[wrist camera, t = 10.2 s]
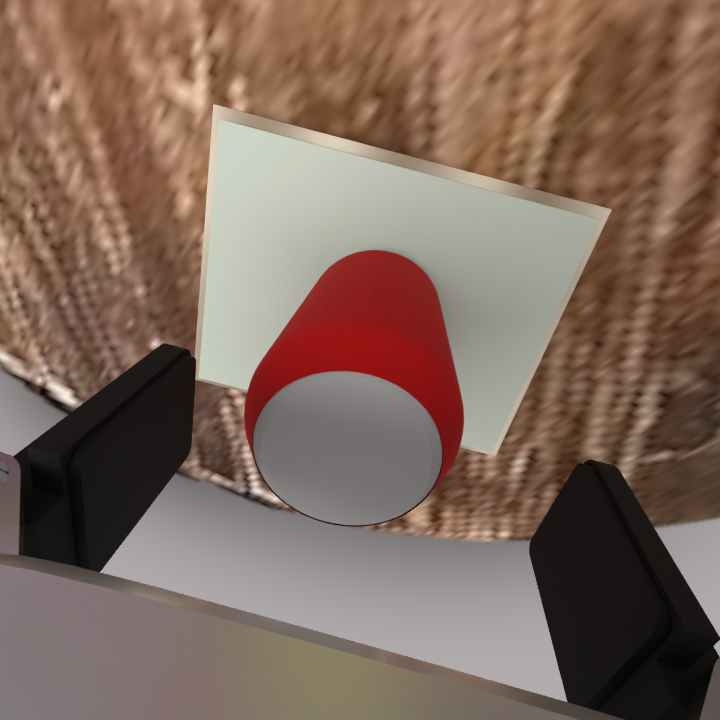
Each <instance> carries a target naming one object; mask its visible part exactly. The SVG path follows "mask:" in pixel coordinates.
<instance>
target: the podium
mask: <svg viewBox="0 0 720 720" xmlns="http://www.w3.org/2000/svg"><path fill="white" fill-rule="evenodd" d="M611 210H612V209H608V208H604V207H600V206H597V205H593V204H589V203H585V202H581V201H578V200H574V199H570V198H566V197H562V196H559V195H555V194H551V193H547V192H544V191H540V190H536V189H532V188H528V187H525V186H521V185H517V184H513V183H509V182H506V181H502V180H498V179H494V178H491V177H487V176H483V175H479V174H475V173H472V172H468V171H464V170H460V169H456V168H453V167H449V166H445V165H441V164H437V163H434V162H430V161H426V160H422V159H419V158H415V157H411V156H407V155H403V154H400V153H396V152H392V151H388V150H384V149H381V148H377V147H373V146H369V145H366V144H362V143H358V142H354V141H350V140H347V139H343V138H339V137H335V136H331V135H328V134H324V133H320V132H316V131H313V130H309V129H305V128H301V127H297V126H294V125H290V124H286V123H282V122H278V121H275V120H271V119H267V118H263V117H259V116H256V115H252V114H248V113H244V112H241V111H237V110H233V109H229V108H225V107H222V106H218V105H213V119H212V132H211V146H210V159H209V173H208V186H207V200H206V213H205V227H204V240H203V254H202V267H201V281H200V294H199V308H198V321H197V335H196V348H195V359H196V378H195V380H199V381H203V382H207V383H211V384H215V385H218V386H222V387H226V388H230V389H234V390H238V391H242V392H246V393H247V391H248V388H249V384H250V381H251V379H252V376H253V374H254V372H255V370H256V368H257V367H258V365H259V363H260V362H261V360H262V359H263V357H264V356H265V354H266V353H267V352H268V350H269V349H270V347H271V346H272V345H273V343H274V342H275V340H276V339H277V338H278V336H279V335H280V333H281V332H282V331H283V329H284V328H285V326H286V325H287V323H288V322H289V321H290V319H291V318H292V316H293V315H294V314H295V312H296V311H297V309H298V308H299V307H300V305H301V304H302V302H303V301H304V299H305V298H306V297H307V295H308V294H309V292H310V291H311V290H312V288H313V287H314V285H315V284H316V283H317V281H318V280H319V278H320V277H321V276H322V274H323V273H324V272H325V271H326V270H327V269H328V268H329V267H330V266H331V265H333V264H334V263H335V262H337V261H338V260H340V259H341V258H344V257H346V256H348V255H350V254H353V253H356V252H360V251H367V250H382V251H388V252H393V253H396V254H399V255H401V256H404V257H406V258H407V259H409V260H411V261H412V262H414V263H415V264H417V265H418V266H419V267H420V268H421V269H422V270H423V271H424V272H425V273H426V274H427V275H428V277H429V278H430V279H431V281H432V283H433V284H434V286H435V289H436V291H437V293H438V297H439V300H440V305H441V309H442V313H443V318H444V322H445V326H446V331H447V335H448V340H449V344H450V348H451V353H452V357H453V361H454V366H455V370H456V374H457V379H458V383H459V387H460V392H461V396H462V402H463V407H464V429H463V435H462V440H461V444H460V447H462V448H466V449H469V450H473V451H477V452H481V453H485V454H489V455H493V456H496V454H497V452H498V450H499V448H500V445H501V443H502V441H503V439H504V437H505V435H506V433H507V431H508V428H509V426H510V424H511V422H512V420H513V418H514V416H515V414H516V412H517V409H518V407H519V405H520V403H521V401H522V399H523V397H524V395H525V392H526V390H527V388H528V386H529V384H530V382H531V380H532V378H533V375H534V373H535V371H536V369H537V367H538V365H539V363H540V361H541V359H542V356H543V354H544V352H545V350H546V348H547V346H548V344H549V342H550V339H551V337H552V335H553V333H554V331H555V329H556V327H557V325H558V322H559V320H560V318H561V316H562V314H563V312H564V310H565V308H566V306H567V303H568V301H569V299H570V297H571V295H572V293H573V291H574V289H575V286H576V284H577V282H578V280H579V278H580V276H581V274H582V272H583V269H584V267H585V265H586V263H587V261H588V259H589V257H590V255H591V253H592V250H593V248H594V246H595V244H596V242H597V240H598V238H599V236H600V233H601V231H602V229H603V227H604V225H605V223H606V221H607V219H608V216H609V214H610V212H611Z"/></svg>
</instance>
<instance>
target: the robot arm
mask: <svg viewBox="0 0 720 720" xmlns="http://www.w3.org/2000/svg"><path fill="white" fill-rule="evenodd" d="M195 378H196V359H195V358H194V357H191V354H190V351H189V350H188V349H184V348H180V347H177V346H173V345H169V344H162V345H160V346H159V347H157V348H156V349H155V350H154V351H152V352H151V353H150V354H148V355H147V356H146V357H144V358H143V359H142V360H140V361H139V362H138V363H136V364H135V365H134V366H132V367H131V368H130V369H128V370H127V371H126V372H124V373H123V374H122V375H120V376H119V377H118V378H116V379H115V380H114V381H113V382H111V383H110V384H109V385H107V386H106V387H105V388H103V389H102V390H101V391H99V392H98V393H97V394H95V395H94V396H93V397H91V398H90V399H89V400H87V401H86V402H85V403H83V404H82V405H81V406H79V407H78V408H77V409H75V410H74V411H73V412H71V413H70V414H69V415H68V416H66V417H65V418H64V419H62V420H61V421H60V422H58V423H57V424H56V425H54V426H53V427H52V428H51V429H49V430H48V431H46V432H45V433H44V434H42V435H41V436H40V437H39V438H37V439H36V440H34V441H33V442H32V443H31V444H29V445H28V446H27V447H25V448H24V449H23V450H21V451H20V452H19V453H17V454H16V455H15V456H13V457H12V456H11V455H8V454H5V453H3V452H0V720H720V657H719V655H718V654H717V652H716V650H715V649H714V647H713V646H714V645H715V644H716V643H717V642H718V641H719V640H720V637H719V636H718V634H717V632H716V630H715V629H714V627H713V625H712V624H711V622H710V620H709V619H708V617H707V615H706V614H705V612H704V611H703V609H702V607H701V605H700V604H699V602H698V600H697V599H696V597H695V595H694V594H693V592H692V590H691V589H690V587H689V585H688V584H687V582H686V580H685V579H684V577H683V575H682V574H681V572H680V571H679V569H678V567H677V566H676V564H675V562H674V561H673V559H672V557H671V555H670V554H669V552H668V550H667V549H666V547H665V546H664V544H663V542H662V541H661V539H660V537H659V536H658V534H657V532H656V530H655V529H654V527H653V526H652V524H651V522H650V521H649V519H648V517H647V516H646V514H645V512H644V511H643V509H642V507H641V506H640V504H639V502H638V501H637V499H636V497H635V496H634V494H633V492H632V491H631V489H630V487H629V486H628V484H627V482H626V481H625V479H624V477H623V476H622V474H621V472H620V471H619V469H618V468H617V467H615V466H613V465H609V464H606V463H602V462H598V461H595V460H587V461H586V462H585V463H584V464H582V463H579V464H578V465H577V466H576V467H575V468H574V470H573V471H572V473H571V475H570V476H569V478H568V480H567V481H566V483H565V485H564V486H563V488H562V490H561V491H560V493H559V494H558V496H557V498H556V499H555V501H554V503H553V504H552V506H551V508H550V509H549V511H548V513H547V514H546V516H545V518H544V519H543V521H542V522H541V524H540V526H539V527H538V529H537V531H536V532H535V534H534V536H533V537H532V539H531V542H530V547H529V553H530V558H531V562H532V565H533V570H534V573H535V577H536V581H537V585H538V589H539V593H540V597H541V601H542V605H543V608H544V612H545V616H546V620H547V624H548V628H549V632H550V636H551V640H552V643H553V647H554V651H555V655H556V659H557V663H558V667H559V671H560V674H561V678H562V682H563V686H564V690H565V694H566V698H567V701H568V702H564V701H561V700H557V699H554V698H550V697H547V696H543V695H540V694H536V693H533V692H529V691H526V690H522V689H519V688H515V687H512V686H508V685H505V684H502V683H498V682H495V681H491V680H487V679H484V678H481V677H477V676H474V675H470V674H467V673H463V672H460V671H456V670H452V669H449V668H446V667H442V666H439V665H435V664H432V663H428V662H424V661H421V660H417V659H413V658H410V657H407V656H403V655H399V654H396V653H392V652H389V651H385V650H382V649H378V648H375V647H371V646H368V645H364V644H360V643H356V642H353V641H350V640H346V639H343V638H339V637H335V636H332V635H328V634H325V633H321V632H318V631H314V630H311V629H307V628H303V627H300V626H296V625H292V624H289V623H286V622H281V621H278V620H274V619H271V618H267V617H264V616H260V615H256V614H253V613H249V612H245V611H241V610H238V609H235V608H231V607H227V606H224V605H220V604H216V603H213V602H209V601H205V600H202V599H198V598H195V597H191V596H187V595H184V594H180V593H176V592H173V591H169V590H165V589H162V588H158V587H154V586H150V585H146V584H143V583H139V582H135V581H131V580H127V579H123V578H119V577H115V576H111V575H107V574H104V573H100V571H101V570H102V569H103V567H104V566H105V565H106V563H107V562H108V561H109V560H110V558H111V557H112V555H113V554H114V553H115V551H116V550H117V549H118V548H119V546H120V545H121V544H122V542H123V541H124V540H125V539H126V537H127V536H128V535H129V533H130V532H131V531H132V529H133V528H134V527H135V525H136V524H137V523H138V521H139V520H140V519H141V517H142V516H143V515H144V514H145V512H146V511H147V509H148V508H149V507H150V506H151V504H152V503H153V502H154V500H155V499H156V498H157V496H158V495H159V494H160V493H161V491H162V490H163V489H164V487H165V486H166V485H167V483H168V482H169V481H170V479H171V478H172V477H173V475H174V474H175V473H176V472H177V470H178V469H179V468H180V466H181V465H182V464H183V462H184V461H185V460H186V458H187V456H188V454H189V452H190V448H191V441H192V425H193V410H194V394H195Z"/></svg>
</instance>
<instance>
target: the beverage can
mask: <svg viewBox="0 0 720 720" xmlns="http://www.w3.org/2000/svg"><path fill="white" fill-rule="evenodd" d="M244 418H245V430H246V435H247V439H248V443H249V446H250V449H251V452H252V455H253V458H254V460H255V463H256V466H257V469H258V471H259V473H260V475H261V477H262V478H263V480H264V482H265V483H266V484H267V486H268V487H269V488H270V490H271V491H272V492H273V493H274V494H275V495H276V496H277V497H278V498H279V499H280V500H281V501H283V502H284V503H285V504H286V505H288V506H289V507H291V508H292V509H294V510H296V511H297V512H299V513H301V514H303V515H305V516H307V517H310V518H312V519H315V520H318V521H321V522H325V523H328V524H334V525H340V526H354V527H356V526H370V525H376V524H381V523H385V522H388V521H391V520H394V519H396V518H399V517H401V516H403V515H405V514H406V513H408V512H410V511H411V510H413V509H414V508H415V507H417V506H418V505H419V504H420V503H421V502H422V501H423V500H424V499H426V497H427V496H428V495H429V494H430V493H431V492H432V491H433V490H434V488H435V487H436V486H437V485H438V484H439V483H440V482H441V480H442V479H443V478H444V477H445V475H446V474H447V473H448V471H449V469H450V468H451V466H452V464H453V462H454V460H455V458H456V456H457V453H458V450H459V447H460V444H461V440H462V435H463V429H464V407H463V402H462V396H461V392H460V387H459V383H458V379H457V374H456V370H455V366H454V361H453V357H452V353H451V348H450V344H449V340H448V335H447V331H446V326H445V322H444V318H443V313H442V309H441V305H440V300H439V297H438V293H437V291H436V289H435V286H434V284H433V283H432V281H431V279H430V278H429V277H428V275H427V274H426V273H425V272H424V271H423V270H422V269H421V268H420V267H419V266H418V265H417V264H415V263H414V262H412V261H411V260H409V259H407V258H406V257H404V256H401V255H399V254H396V253H393V252H388V251H382V250H367V251H360V252H356V253H353V254H350V255H348V256H346V257H344V258H341V259H340V260H338V261H337V262H335V263H334V264H333V265H331V266H330V267H329V268H328V269H327V270H326V271H325V272H324V273H323V274H322V276H321V277H320V278H319V280H318V281H317V283H316V284H315V285H314V287H313V288H312V290H311V291H310V292H309V294H308V295H307V297H306V298H305V299H304V301H303V302H302V304H301V305H300V307H299V308H298V309H297V311H296V312H295V314H294V315H293V316H292V318H291V319H290V321H289V322H288V323H287V325H286V326H285V328H284V329H283V331H282V332H281V333H280V335H279V336H278V338H277V339H276V340H275V342H274V343H273V345H272V346H271V347H270V349H269V350H268V352H267V353H266V354H265V356H264V357H263V359H262V360H261V362H260V363H259V365H258V367H257V368H256V370H255V372H254V374H253V376H252V379H251V381H250V384H249V388H248V391H247V396H246V401H245V412H244Z"/></svg>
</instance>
